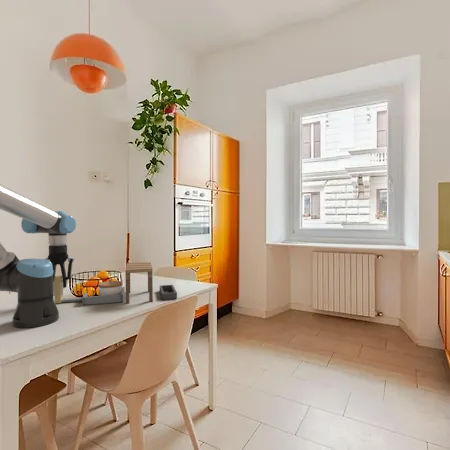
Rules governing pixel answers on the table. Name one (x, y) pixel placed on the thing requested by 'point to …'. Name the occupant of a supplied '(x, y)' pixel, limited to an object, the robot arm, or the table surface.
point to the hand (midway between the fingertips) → (59, 294)
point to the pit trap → (168, 292)
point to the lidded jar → (110, 288)
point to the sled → (85, 298)
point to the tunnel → (136, 269)
